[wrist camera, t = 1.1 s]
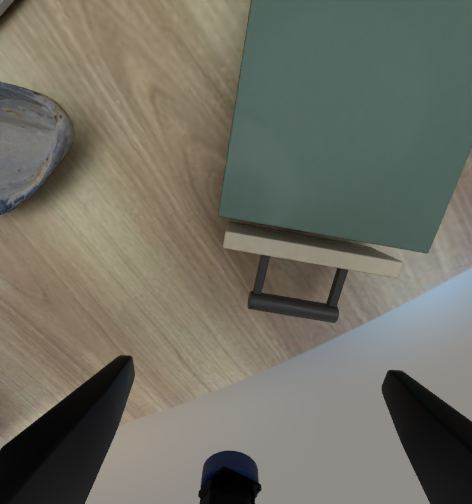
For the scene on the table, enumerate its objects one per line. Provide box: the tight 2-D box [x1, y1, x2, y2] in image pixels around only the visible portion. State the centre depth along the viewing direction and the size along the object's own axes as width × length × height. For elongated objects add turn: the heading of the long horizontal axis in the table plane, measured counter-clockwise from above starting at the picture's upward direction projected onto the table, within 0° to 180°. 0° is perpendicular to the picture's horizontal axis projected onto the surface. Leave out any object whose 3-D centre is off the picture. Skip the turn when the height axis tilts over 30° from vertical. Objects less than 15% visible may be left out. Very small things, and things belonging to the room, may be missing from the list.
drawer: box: [223, 222, 403, 323], centre depth 17 cm, size 20×12×4 cm, turn 170°
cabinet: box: [218, 0, 472, 253], centre depth 16 cm, size 17×14×6 cm
